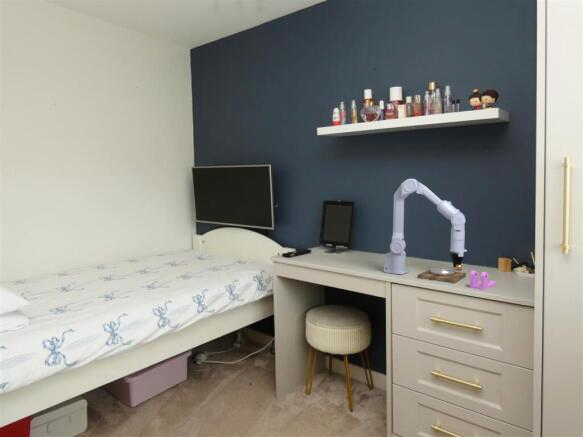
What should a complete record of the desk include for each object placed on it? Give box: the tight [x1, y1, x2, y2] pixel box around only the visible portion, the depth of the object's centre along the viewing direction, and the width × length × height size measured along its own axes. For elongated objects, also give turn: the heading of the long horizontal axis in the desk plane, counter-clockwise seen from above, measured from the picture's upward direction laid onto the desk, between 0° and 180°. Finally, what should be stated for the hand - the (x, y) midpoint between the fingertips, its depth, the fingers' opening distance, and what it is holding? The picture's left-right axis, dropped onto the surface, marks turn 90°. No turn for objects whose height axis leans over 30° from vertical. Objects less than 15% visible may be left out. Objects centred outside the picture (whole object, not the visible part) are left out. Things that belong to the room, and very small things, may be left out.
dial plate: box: [417, 268, 467, 284], centre depth 190 cm, size 16×16×2 cm
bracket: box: [469, 269, 496, 291], centre depth 173 cm, size 13×6×7 cm, turn 132°
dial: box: [429, 263, 463, 276], centre depth 189 cm, size 13×10×4 cm
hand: (456, 270), depth 191 cm, fingers closed
